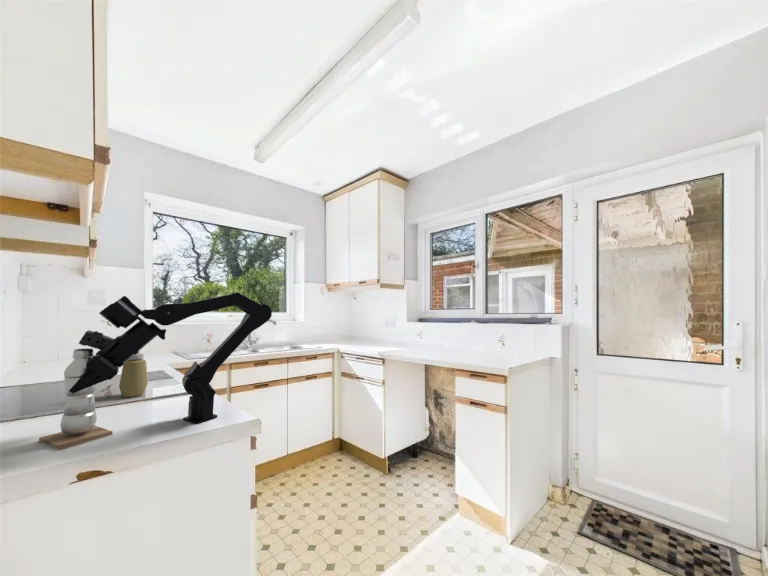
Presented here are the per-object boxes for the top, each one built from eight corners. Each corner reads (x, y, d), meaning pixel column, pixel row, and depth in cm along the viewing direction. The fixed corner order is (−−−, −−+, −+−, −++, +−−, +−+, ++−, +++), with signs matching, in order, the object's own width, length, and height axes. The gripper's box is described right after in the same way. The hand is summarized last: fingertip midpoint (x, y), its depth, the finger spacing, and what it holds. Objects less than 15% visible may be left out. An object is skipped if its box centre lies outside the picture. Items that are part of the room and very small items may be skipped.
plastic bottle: (101, 426, 84) (106, 347, 85) (86, 436, 78) (92, 351, 79) (70, 428, 83) (75, 347, 84) (52, 439, 76) (58, 351, 77)
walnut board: (112, 434, 83) (112, 431, 83) (59, 449, 73) (60, 446, 74) (90, 427, 87) (91, 424, 87) (38, 441, 78) (39, 437, 78)
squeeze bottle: (152, 392, 121) (155, 342, 122) (136, 398, 113) (140, 345, 114) (128, 392, 120) (132, 342, 121) (112, 398, 112) (115, 345, 113)
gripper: (109, 317, 91) (51, 361, 85) (101, 321, 76) (29, 375, 69) (143, 344, 96) (90, 388, 89) (142, 353, 80) (78, 407, 74)
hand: (73, 389), depth 80 cm, fingers closed on plastic bottle, 6 cm apart
